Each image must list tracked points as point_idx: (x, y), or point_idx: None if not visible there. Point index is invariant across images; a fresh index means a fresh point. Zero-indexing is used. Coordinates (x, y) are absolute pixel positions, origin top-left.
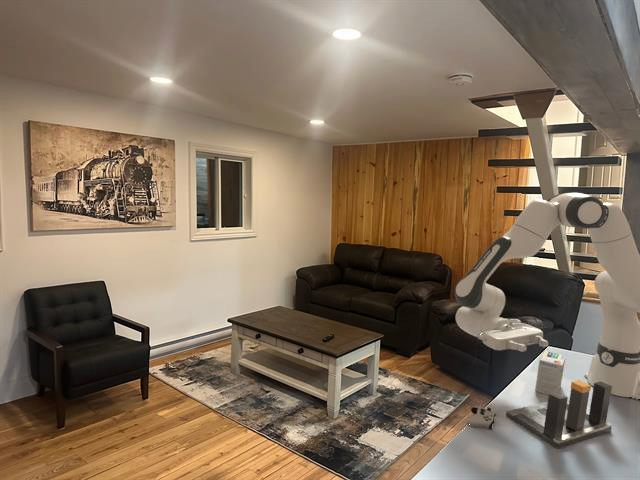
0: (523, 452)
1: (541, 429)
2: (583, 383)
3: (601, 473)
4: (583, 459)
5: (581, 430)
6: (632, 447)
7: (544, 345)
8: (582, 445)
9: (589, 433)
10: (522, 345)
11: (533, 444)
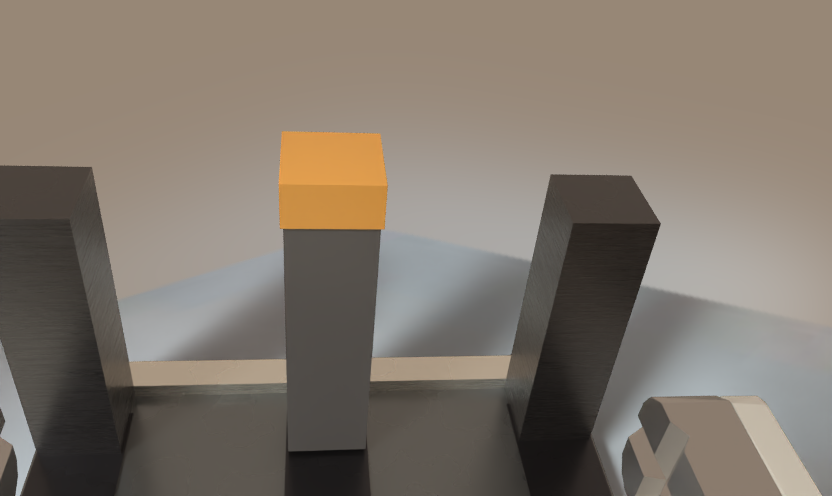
0: None
1: (569, 469)
2: (309, 155)
3: (494, 256)
4: (491, 314)
5: None
6: (141, 298)
7: (13, 452)
8: None
9: None
10: (746, 415)
11: None
